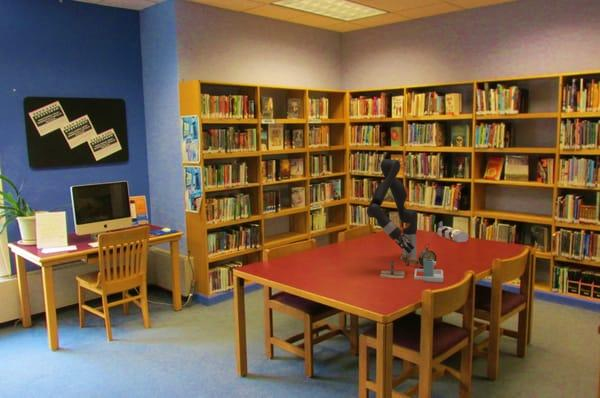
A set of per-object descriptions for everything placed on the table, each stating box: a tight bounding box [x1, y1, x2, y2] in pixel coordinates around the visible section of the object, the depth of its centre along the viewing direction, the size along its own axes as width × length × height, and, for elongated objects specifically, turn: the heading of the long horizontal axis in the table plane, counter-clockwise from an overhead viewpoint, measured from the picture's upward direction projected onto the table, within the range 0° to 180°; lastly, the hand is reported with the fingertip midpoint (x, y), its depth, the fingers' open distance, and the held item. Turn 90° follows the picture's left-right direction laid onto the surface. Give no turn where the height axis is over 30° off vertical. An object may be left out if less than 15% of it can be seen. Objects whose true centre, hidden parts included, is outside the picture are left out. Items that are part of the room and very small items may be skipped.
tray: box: [413, 268, 444, 284], centre depth 291 cm, size 16×16×3 cm
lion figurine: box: [400, 252, 421, 269], centre depth 312 cm, size 15×5×9 cm, turn 53°
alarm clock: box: [418, 243, 437, 269], centre depth 309 cm, size 11×5×16 cm, turn 114°
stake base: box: [379, 260, 406, 279], centre depth 296 cm, size 14×14×10 cm
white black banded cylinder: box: [437, 220, 469, 243], centre depth 387 cm, size 25×10×13 cm, turn 18°
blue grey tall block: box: [423, 259, 437, 277], centre depth 290 cm, size 5×6×10 cm
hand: (411, 250), depth 293 cm, fingers open, 8 cm apart
